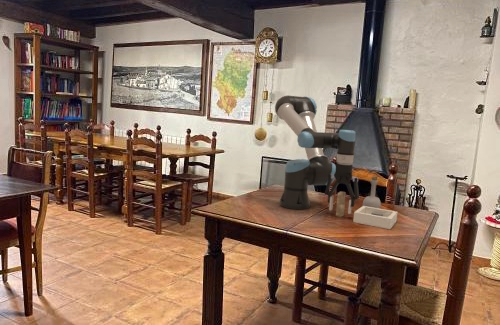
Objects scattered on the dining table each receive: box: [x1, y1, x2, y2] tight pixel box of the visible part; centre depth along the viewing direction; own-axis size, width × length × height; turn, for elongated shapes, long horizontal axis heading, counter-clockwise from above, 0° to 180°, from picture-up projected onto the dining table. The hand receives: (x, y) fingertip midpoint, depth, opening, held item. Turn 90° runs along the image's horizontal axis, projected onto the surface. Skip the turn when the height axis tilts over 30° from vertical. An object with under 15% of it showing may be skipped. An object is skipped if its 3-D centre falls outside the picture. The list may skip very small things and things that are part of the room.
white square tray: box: [352, 205, 398, 230], centre depth 166 cm, size 16×16×4 cm
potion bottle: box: [362, 175, 382, 209], centre depth 185 cm, size 9×9×18 cm
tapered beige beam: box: [335, 191, 347, 218], centre depth 173 cm, size 2×4×11 cm, turn 149°
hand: (340, 211), depth 174 cm, fingers open, 8 cm apart
